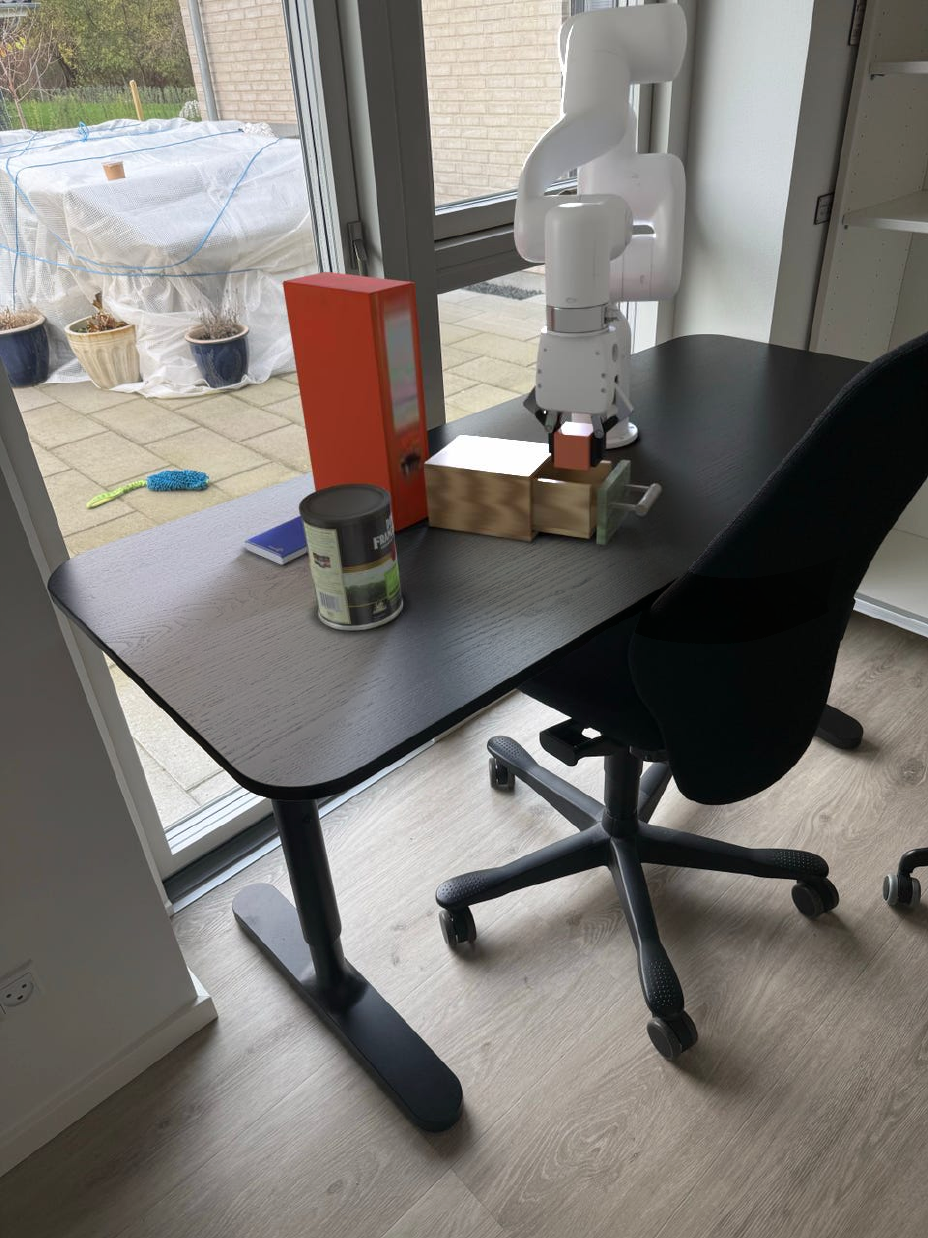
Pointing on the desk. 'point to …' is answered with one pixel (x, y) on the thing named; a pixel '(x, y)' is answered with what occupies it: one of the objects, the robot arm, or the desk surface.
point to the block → (573, 446)
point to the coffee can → (352, 555)
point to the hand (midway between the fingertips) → (577, 459)
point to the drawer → (586, 499)
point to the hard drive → (280, 542)
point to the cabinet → (484, 486)
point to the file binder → (362, 385)
